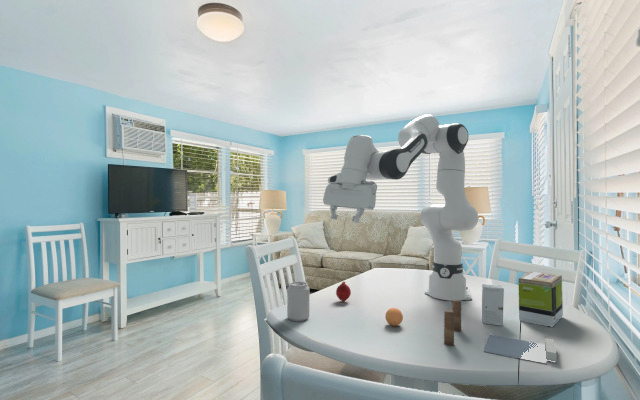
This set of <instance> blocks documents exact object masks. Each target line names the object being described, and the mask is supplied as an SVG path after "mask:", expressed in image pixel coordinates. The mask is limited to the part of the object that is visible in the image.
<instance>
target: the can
mask: <svg viewBox="0 0 640 400" xmlns="http://www.w3.org/2000/svg"><path fill="white" fill-rule="evenodd" d="M310 290H311V289H310V287H309V286H308V282H305V281H292V282H289V286H287V290H286V291H287V295H286V297H287V299H286V300H287V306H286V307H287V310H286V313H287V314H286V315H287V316H286V317H287V318H288V319H289V320H290V321H293V322H304V321H306V320H307V319H309V317H310V297H311V296H310V293H311V292H310Z"/></svg>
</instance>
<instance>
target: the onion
mask: <svg viewBox="0 0 640 400" xmlns="http://www.w3.org/2000/svg"><path fill="white" fill-rule="evenodd" d="M351 291H352V290H351V289H350V286H349V285H348V284H346V281H345V280H344V281H342V282H341V283H340V284H339V285H338V286H337V288H336V291H335V294H336V297H337V298H338V300H339V301H341V302H343V303H344V302H346V301H347V300H348V299H349V298H351V297H350V296H351Z"/></svg>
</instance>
